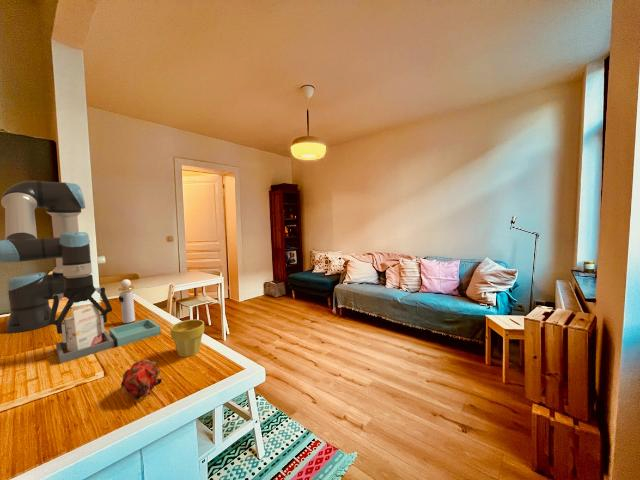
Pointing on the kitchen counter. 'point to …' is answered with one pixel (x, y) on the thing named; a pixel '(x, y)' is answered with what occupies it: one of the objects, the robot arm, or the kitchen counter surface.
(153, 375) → the dragon fruit
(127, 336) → the teal tray
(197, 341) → the plant pot
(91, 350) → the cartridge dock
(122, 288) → the perfume bottle
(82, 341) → the ink cartridge box
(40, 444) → the kitchen counter surface
